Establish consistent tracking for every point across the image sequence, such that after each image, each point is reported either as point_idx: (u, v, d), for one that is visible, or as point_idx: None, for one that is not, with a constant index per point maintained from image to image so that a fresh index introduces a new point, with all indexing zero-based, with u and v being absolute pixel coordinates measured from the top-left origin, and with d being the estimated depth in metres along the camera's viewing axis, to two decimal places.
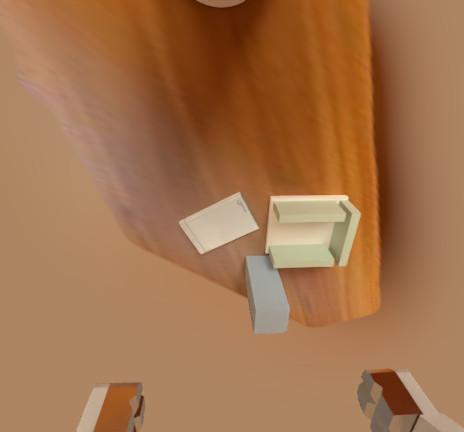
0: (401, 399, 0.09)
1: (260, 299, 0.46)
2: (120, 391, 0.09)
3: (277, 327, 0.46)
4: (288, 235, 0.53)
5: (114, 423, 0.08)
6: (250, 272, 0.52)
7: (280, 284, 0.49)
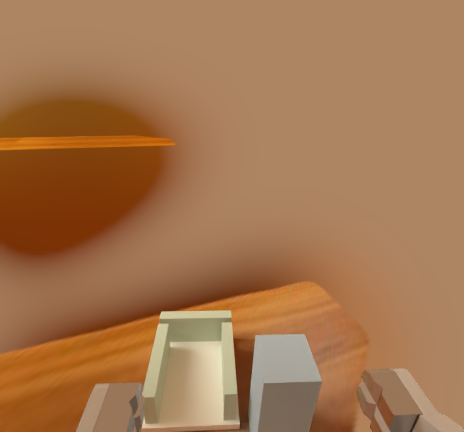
0: (401, 400, 0.09)
1: (259, 388, 0.28)
2: (120, 391, 0.09)
3: (296, 346, 0.30)
4: (207, 393, 0.38)
5: (114, 423, 0.08)
6: None
7: (252, 372, 0.33)
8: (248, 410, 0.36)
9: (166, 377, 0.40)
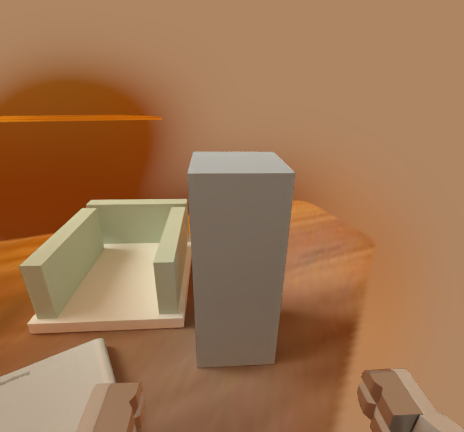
0: (401, 400, 0.09)
1: None
2: (120, 391, 0.09)
3: (257, 157, 0.18)
4: (142, 287, 0.26)
5: (114, 423, 0.08)
6: None
7: None
8: None
9: (88, 274, 0.28)
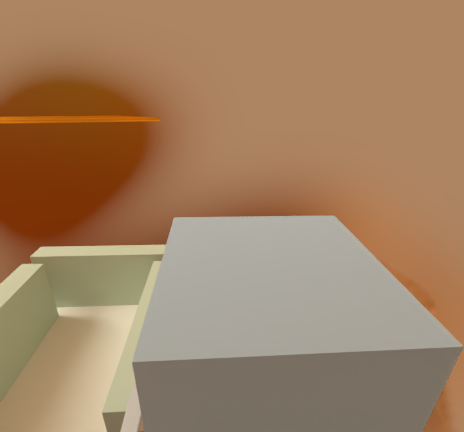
0: None
1: None
2: None
3: (310, 238, 0.08)
4: (101, 406, 0.16)
5: None
6: None
7: None
8: None
9: (22, 372, 0.18)
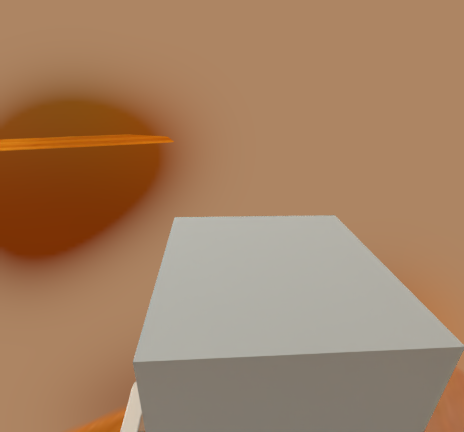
0: None
1: None
2: None
3: (311, 238, 0.08)
4: None
5: None
6: None
7: None
8: None
9: None
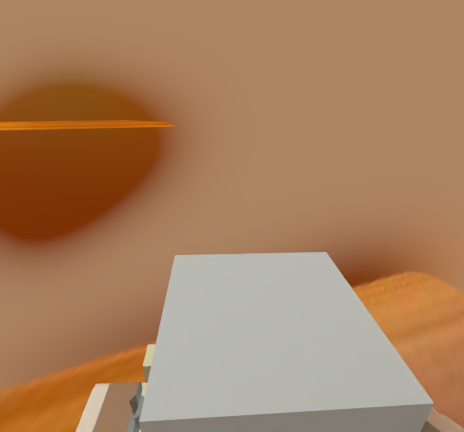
0: None
1: None
2: (120, 391, 0.09)
3: (302, 280, 0.09)
4: None
5: (114, 423, 0.08)
6: None
7: None
8: None
9: None
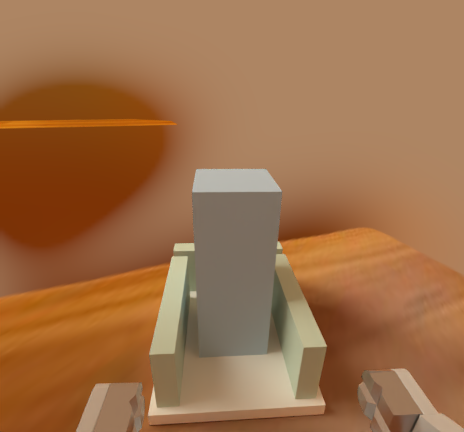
0: (401, 399, 0.09)
1: None
2: (120, 391, 0.09)
3: (251, 174, 0.21)
4: (257, 357, 0.23)
5: (114, 423, 0.08)
6: (197, 306, 0.21)
7: None
8: None
9: (188, 336, 0.24)
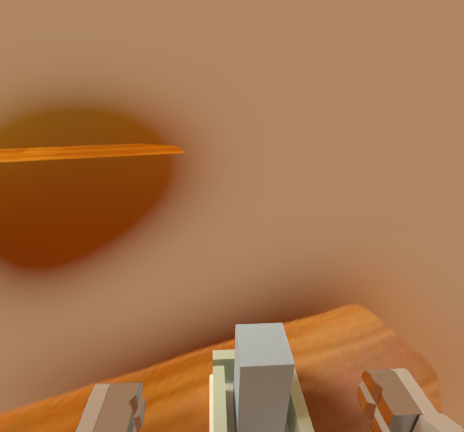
0: (401, 399, 0.09)
1: (238, 372, 0.30)
2: (120, 391, 0.09)
3: (273, 334, 0.32)
4: None
5: (114, 423, 0.08)
6: (237, 420, 0.32)
7: (234, 361, 0.35)
8: (233, 398, 0.38)
9: (226, 429, 0.35)
